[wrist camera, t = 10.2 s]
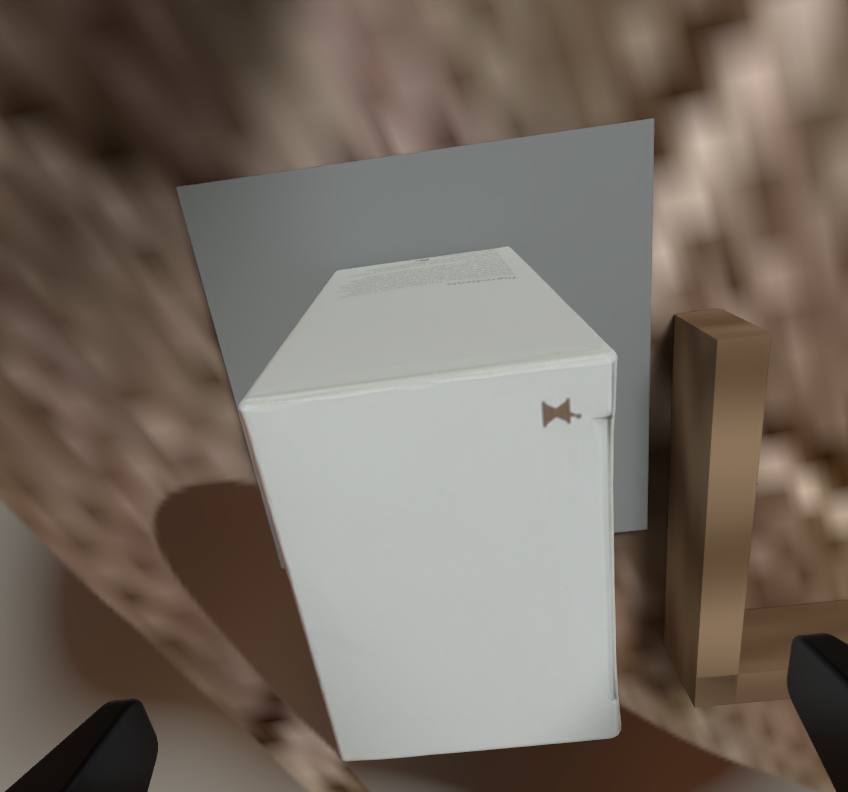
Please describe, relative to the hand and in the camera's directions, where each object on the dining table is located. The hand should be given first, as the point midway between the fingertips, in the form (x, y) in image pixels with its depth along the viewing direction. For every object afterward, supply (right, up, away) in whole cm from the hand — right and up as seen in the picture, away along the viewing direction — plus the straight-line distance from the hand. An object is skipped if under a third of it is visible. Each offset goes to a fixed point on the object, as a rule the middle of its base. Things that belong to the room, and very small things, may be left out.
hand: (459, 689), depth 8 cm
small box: (0, +5, +11) cm, 12 cm away
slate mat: (0, +5, +12) cm, 13 cm away
